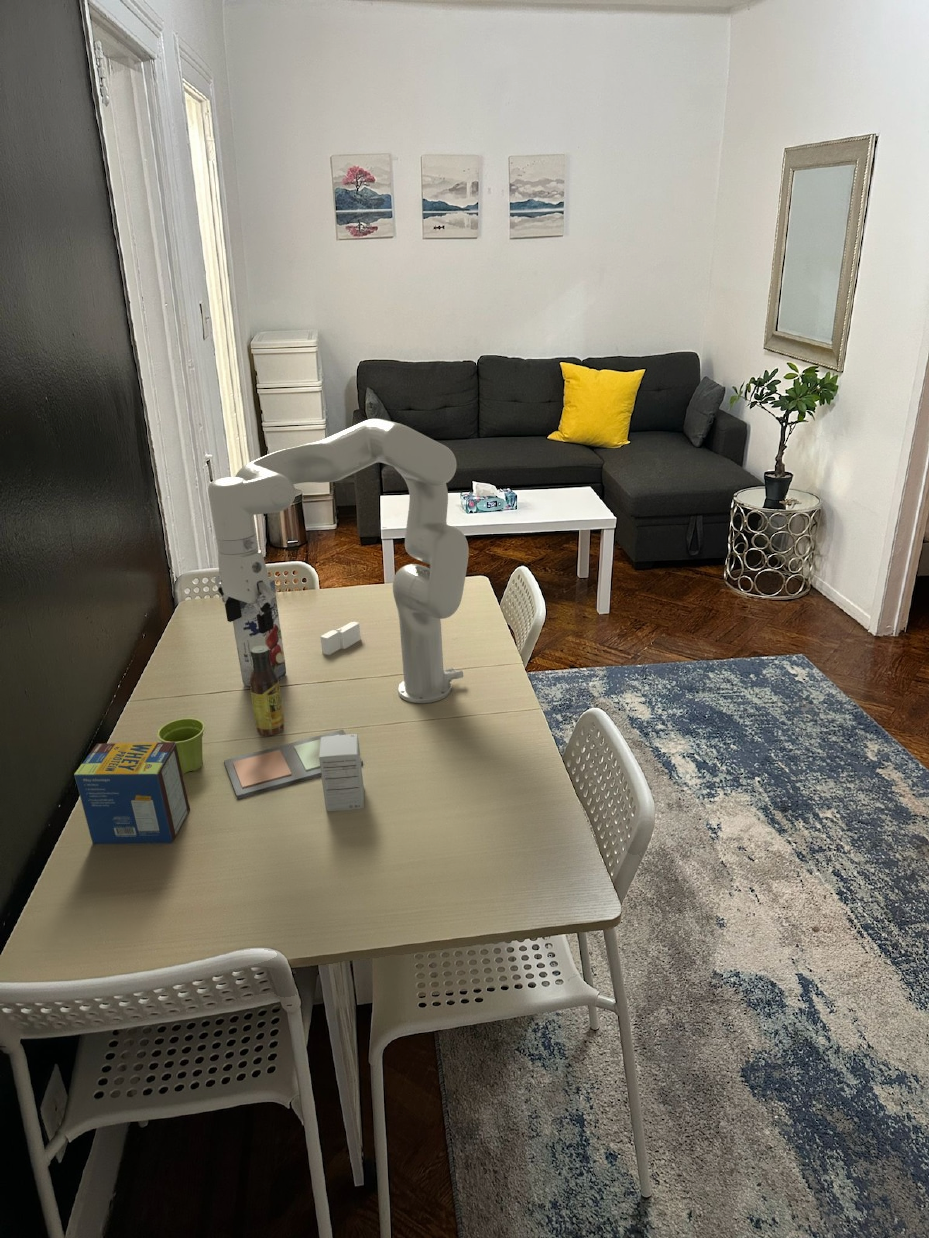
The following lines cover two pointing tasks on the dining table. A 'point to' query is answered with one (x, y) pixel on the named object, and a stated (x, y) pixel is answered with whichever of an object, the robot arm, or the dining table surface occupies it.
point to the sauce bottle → (265, 693)
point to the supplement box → (341, 772)
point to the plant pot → (185, 741)
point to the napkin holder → (340, 638)
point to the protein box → (133, 793)
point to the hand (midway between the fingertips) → (250, 625)
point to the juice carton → (258, 639)
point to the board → (276, 766)
